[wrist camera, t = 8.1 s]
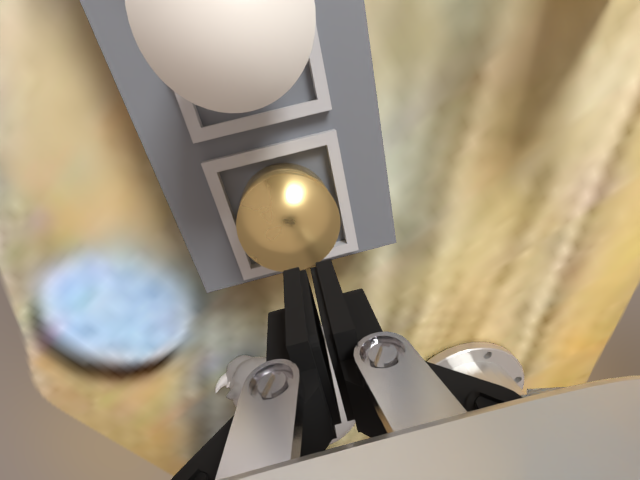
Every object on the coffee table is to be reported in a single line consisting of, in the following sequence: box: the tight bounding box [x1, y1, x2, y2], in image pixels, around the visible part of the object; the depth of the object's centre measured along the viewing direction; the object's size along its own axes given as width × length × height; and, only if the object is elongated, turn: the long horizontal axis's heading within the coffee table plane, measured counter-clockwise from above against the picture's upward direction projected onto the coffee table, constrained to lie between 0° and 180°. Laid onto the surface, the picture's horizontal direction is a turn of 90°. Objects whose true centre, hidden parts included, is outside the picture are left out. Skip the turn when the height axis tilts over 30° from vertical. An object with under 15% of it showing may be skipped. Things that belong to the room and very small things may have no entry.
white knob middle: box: [125, 0, 316, 113], centre depth 11 cm, size 5×5×4 cm
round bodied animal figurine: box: [215, 325, 356, 444], centre depth 26 cm, size 7×12×8 cm, turn 100°
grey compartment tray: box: [80, 0, 396, 293], centre depth 17 cm, size 24×12×6 cm, turn 13°
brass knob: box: [236, 163, 340, 272], centre depth 17 cm, size 5×5×3 cm
